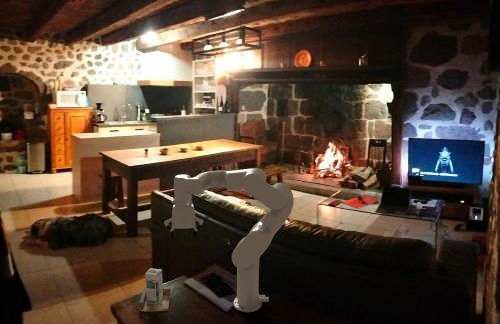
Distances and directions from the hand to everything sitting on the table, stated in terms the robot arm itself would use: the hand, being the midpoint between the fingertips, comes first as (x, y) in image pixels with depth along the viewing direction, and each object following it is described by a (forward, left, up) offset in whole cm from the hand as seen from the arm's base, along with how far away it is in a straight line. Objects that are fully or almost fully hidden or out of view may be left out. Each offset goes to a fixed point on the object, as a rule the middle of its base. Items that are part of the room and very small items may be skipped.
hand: (184, 238), depth 182 cm
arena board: (+13, +6, -28) cm, 32 cm away
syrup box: (+13, +5, -27) cm, 31 cm away
